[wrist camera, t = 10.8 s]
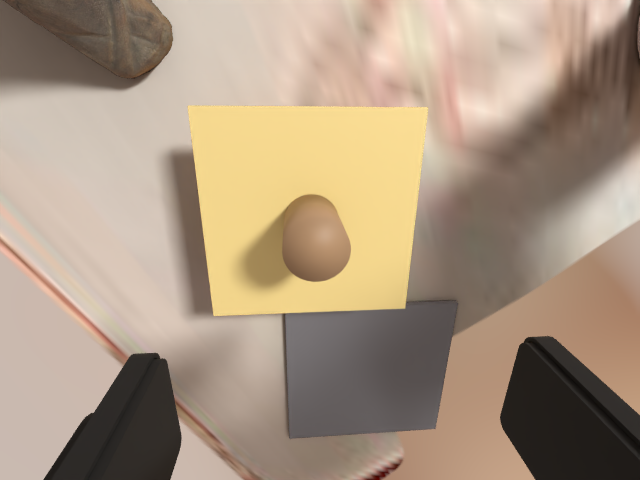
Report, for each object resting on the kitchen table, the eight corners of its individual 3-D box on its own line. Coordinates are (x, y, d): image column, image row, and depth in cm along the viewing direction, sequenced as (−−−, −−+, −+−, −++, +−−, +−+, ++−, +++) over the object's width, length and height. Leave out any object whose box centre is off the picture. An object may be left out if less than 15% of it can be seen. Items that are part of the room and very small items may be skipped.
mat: (455, 300, 33) (457, 303, 32) (433, 424, 38) (435, 428, 38) (285, 306, 31) (285, 309, 31) (289, 434, 37) (289, 438, 37)
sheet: (424, 107, 21) (468, 108, 16) (402, 304, 26) (430, 353, 21) (190, 105, 20) (155, 106, 15) (215, 311, 25) (195, 365, 20)
